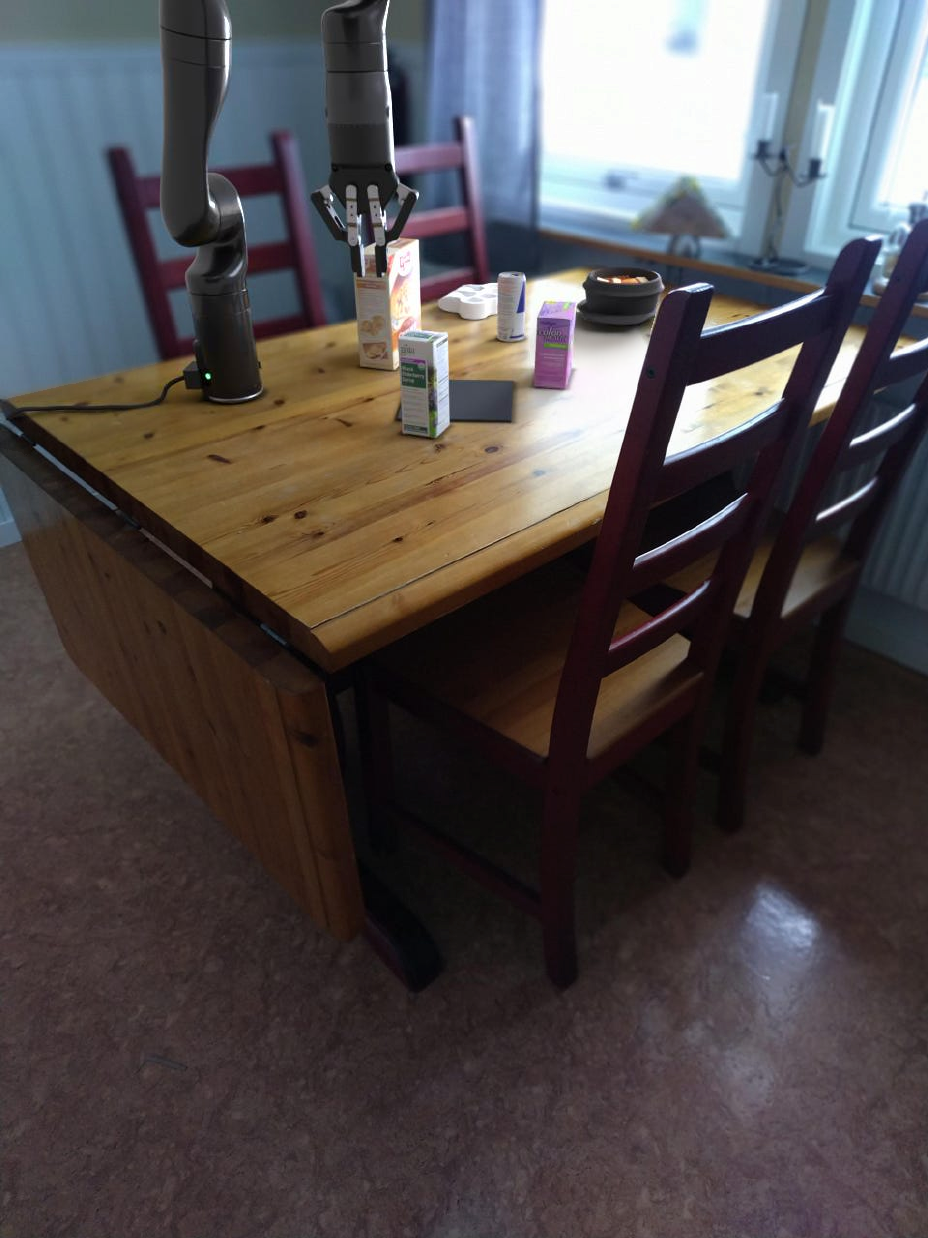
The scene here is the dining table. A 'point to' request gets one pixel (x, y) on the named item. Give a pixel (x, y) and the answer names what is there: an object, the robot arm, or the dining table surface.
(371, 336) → the coffeecake box
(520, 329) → the energy drink
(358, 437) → the dining table surface
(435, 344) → the syrup box
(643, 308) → the casserole
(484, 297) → the white cupped tray
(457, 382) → the mat
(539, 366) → the box
